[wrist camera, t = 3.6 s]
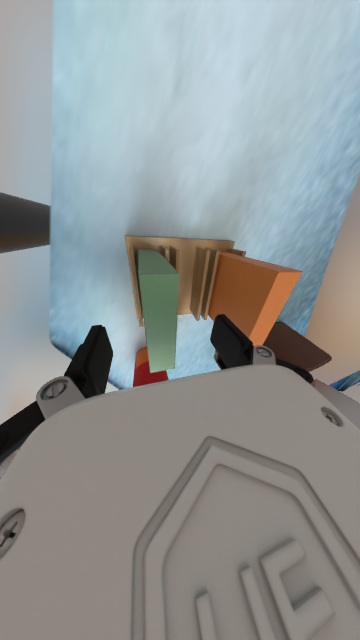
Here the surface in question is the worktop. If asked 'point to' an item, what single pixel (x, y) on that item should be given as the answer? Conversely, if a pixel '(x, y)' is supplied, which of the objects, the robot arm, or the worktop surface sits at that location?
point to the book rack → (182, 269)
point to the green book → (159, 307)
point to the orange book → (251, 293)
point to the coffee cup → (146, 371)
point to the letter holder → (290, 348)
